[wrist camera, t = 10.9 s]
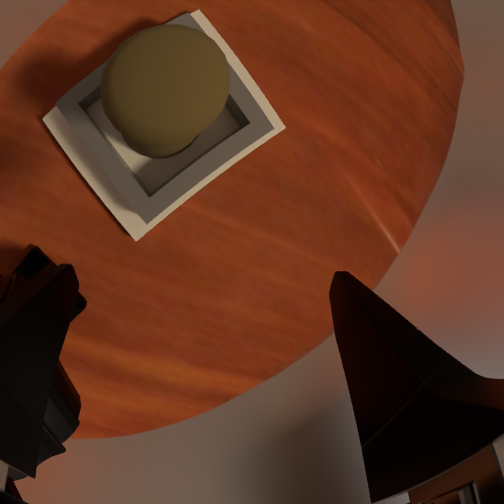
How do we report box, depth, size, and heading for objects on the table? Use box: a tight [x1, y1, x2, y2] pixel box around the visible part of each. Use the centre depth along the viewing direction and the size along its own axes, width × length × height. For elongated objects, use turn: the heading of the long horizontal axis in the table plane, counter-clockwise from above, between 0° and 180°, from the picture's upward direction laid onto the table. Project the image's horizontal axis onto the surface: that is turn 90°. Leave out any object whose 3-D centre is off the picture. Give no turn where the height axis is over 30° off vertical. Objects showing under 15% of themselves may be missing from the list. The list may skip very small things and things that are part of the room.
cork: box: [100, 24, 230, 159], centre depth 13 cm, size 6×6×11 cm
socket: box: [43, 10, 285, 241], centre depth 17 cm, size 14×12×4 cm
